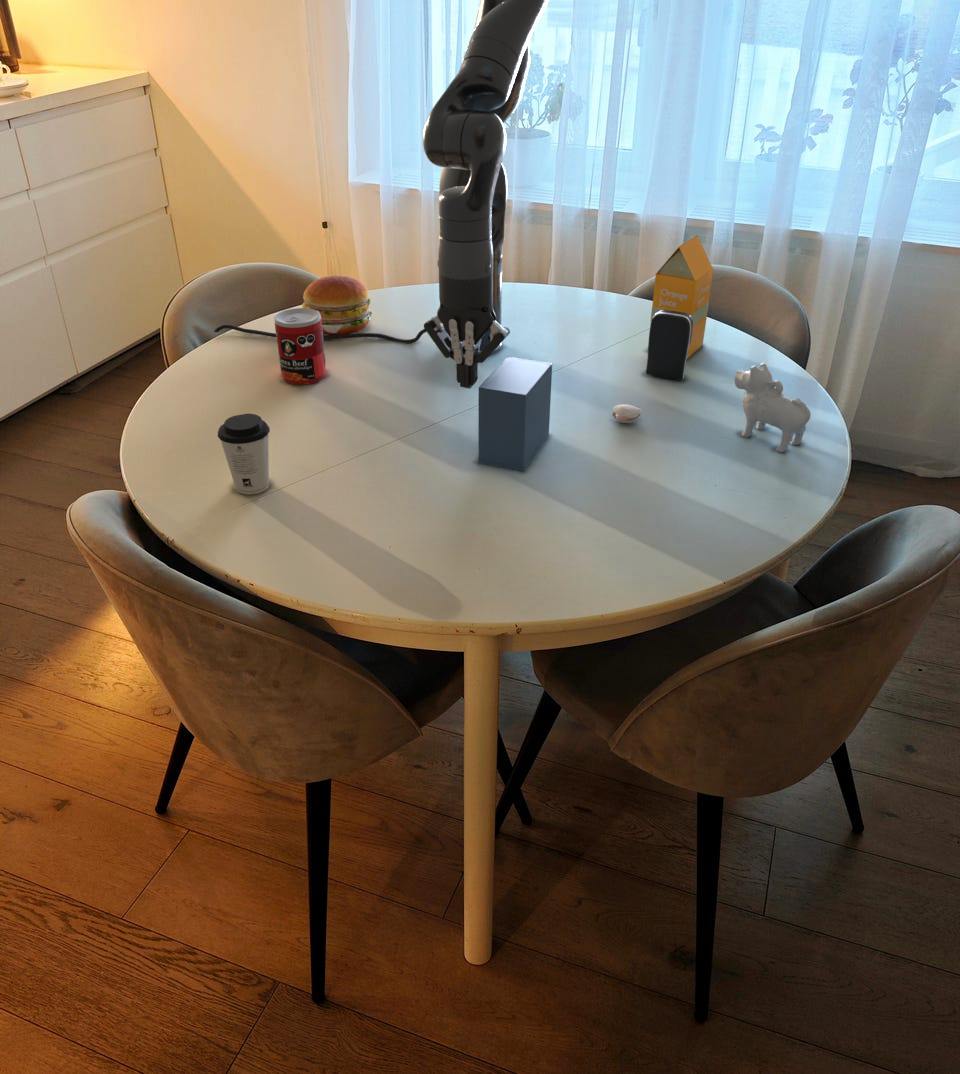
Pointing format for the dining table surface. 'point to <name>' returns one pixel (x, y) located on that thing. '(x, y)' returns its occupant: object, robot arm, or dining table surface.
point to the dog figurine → (771, 406)
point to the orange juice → (686, 287)
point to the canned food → (300, 345)
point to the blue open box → (514, 413)
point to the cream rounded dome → (626, 413)
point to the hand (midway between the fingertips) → (467, 385)
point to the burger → (339, 304)
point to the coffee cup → (246, 452)
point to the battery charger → (669, 344)
